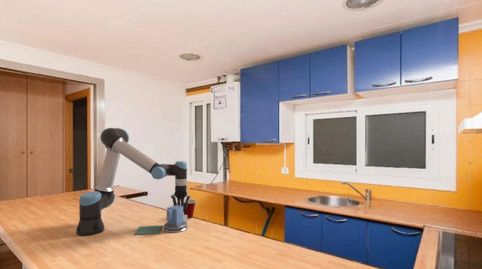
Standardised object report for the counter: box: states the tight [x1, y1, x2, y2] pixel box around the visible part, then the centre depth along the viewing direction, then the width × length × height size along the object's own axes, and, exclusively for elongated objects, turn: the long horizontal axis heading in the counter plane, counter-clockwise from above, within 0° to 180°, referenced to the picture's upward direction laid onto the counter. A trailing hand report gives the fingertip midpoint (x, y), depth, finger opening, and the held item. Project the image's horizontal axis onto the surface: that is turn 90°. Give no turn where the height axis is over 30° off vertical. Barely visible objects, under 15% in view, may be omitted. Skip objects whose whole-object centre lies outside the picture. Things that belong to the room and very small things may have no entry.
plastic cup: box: [183, 198, 197, 219], centre depth 198 cm, size 11×11×12 cm
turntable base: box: [162, 225, 189, 234], centre depth 173 cm, size 15×15×1 cm
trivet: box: [133, 225, 163, 236], centre depth 170 cm, size 14×14×1 cm
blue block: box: [166, 204, 184, 226], centre depth 172 cm, size 7×12×11 cm, turn 158°
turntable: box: [163, 214, 188, 231], centre depth 175 cm, size 14×19×4 cm
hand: (180, 220), depth 181 cm, fingers closed
